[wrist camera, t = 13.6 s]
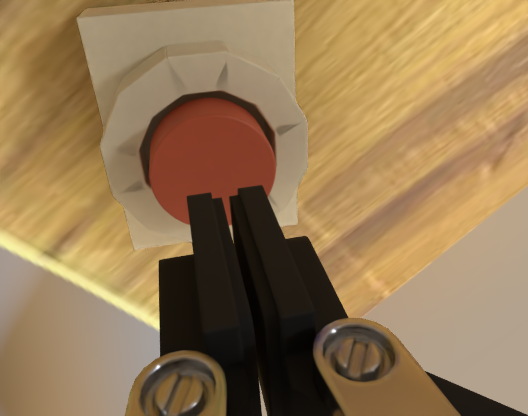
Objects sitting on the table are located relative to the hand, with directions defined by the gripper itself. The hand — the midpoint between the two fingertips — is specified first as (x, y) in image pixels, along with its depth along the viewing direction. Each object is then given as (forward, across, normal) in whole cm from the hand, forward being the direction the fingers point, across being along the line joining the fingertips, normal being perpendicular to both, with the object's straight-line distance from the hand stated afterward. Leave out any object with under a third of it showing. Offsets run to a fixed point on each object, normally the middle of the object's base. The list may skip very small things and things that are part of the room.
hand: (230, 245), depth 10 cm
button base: (+10, 0, +1) cm, 10 cm away
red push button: (+6, 0, +1) cm, 6 cm away
